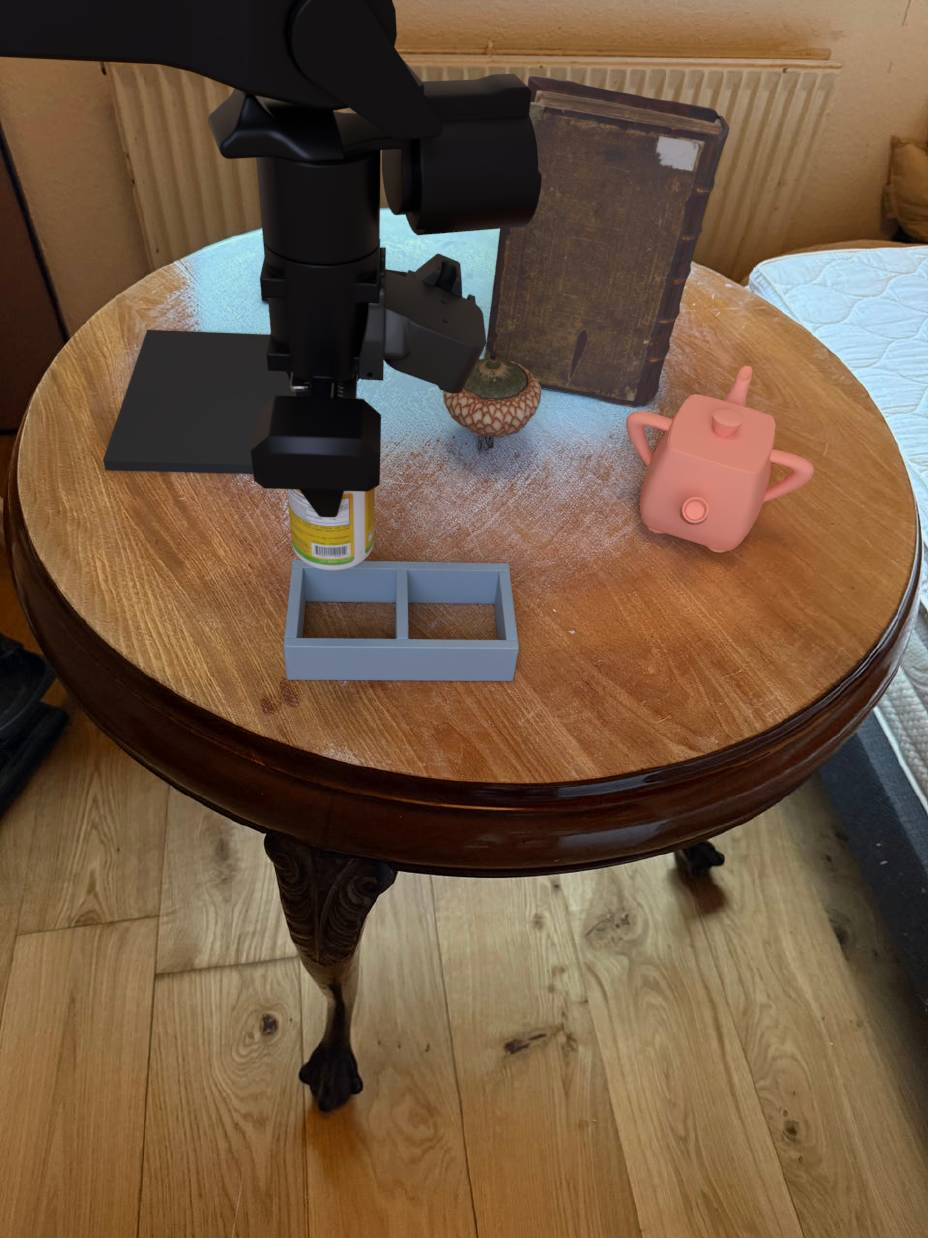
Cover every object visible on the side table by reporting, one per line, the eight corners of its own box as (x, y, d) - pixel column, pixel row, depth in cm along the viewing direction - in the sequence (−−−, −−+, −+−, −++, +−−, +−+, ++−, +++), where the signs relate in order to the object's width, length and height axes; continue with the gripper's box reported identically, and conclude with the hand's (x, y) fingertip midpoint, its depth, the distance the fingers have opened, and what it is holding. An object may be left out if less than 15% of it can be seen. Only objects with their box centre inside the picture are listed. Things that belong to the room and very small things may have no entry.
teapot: (800, 565, 74) (848, 463, 66) (666, 588, 71) (700, 484, 64) (718, 456, 83) (752, 357, 76) (596, 473, 80) (619, 370, 73)
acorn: (507, 415, 85) (520, 316, 77) (548, 469, 80) (566, 368, 72) (424, 432, 82) (429, 330, 75) (461, 489, 77) (470, 386, 70)
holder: (286, 680, 62) (283, 646, 60) (295, 593, 68) (292, 559, 65) (513, 681, 64) (519, 648, 61) (503, 596, 69) (508, 563, 67)
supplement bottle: (339, 506, 63) (335, 384, 56) (391, 548, 61) (394, 426, 54) (274, 540, 61) (262, 416, 53) (326, 585, 58) (321, 462, 51)
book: (662, 385, 90) (736, 108, 72) (648, 424, 85) (724, 140, 67) (499, 344, 93) (531, 68, 74) (477, 380, 88) (505, 95, 70)
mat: (105, 470, 75) (102, 460, 75) (148, 338, 89) (147, 329, 88) (339, 476, 77) (339, 466, 76) (347, 346, 91) (347, 337, 90)
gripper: (497, 347, 40) (467, 597, 51) (474, 170, 53) (454, 402, 64) (235, 335, 39) (264, 592, 50) (275, 157, 52) (292, 396, 63)
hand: (330, 485), depth 57 cm, fingers closed on supplement bottle, 5 cm apart
